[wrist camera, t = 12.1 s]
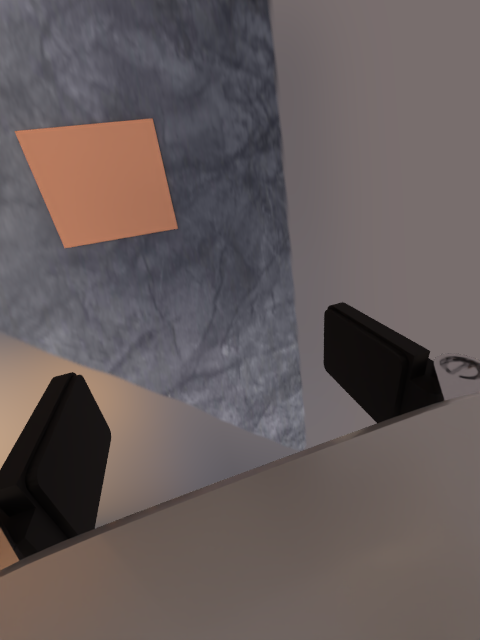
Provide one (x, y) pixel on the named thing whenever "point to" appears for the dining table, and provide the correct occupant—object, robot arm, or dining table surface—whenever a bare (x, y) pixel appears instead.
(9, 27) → the dining table surface
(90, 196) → the mat
